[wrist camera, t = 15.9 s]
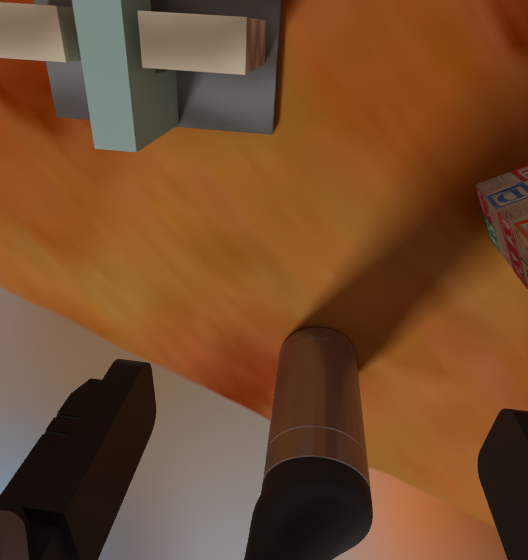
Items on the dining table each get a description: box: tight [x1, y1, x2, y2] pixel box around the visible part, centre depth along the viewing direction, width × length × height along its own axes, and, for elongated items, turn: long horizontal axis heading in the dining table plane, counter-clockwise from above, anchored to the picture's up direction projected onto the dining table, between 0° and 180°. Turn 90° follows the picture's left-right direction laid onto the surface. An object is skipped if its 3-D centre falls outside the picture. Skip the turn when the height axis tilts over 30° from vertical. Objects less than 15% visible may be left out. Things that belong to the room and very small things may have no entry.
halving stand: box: [0, 0, 282, 134], centre depth 30 cm, size 14×20×11 cm
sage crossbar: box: [72, 0, 179, 152], centre depth 30 cm, size 14×3×10 cm, turn 177°
